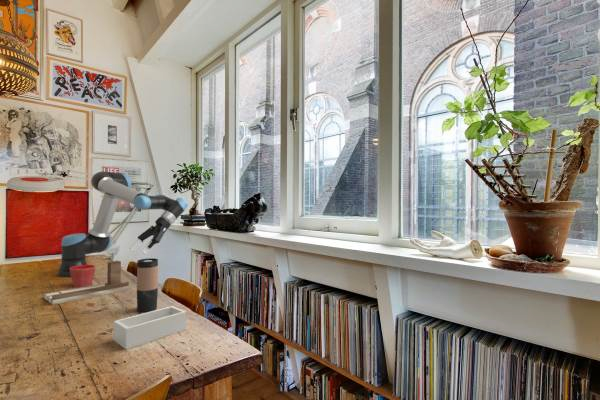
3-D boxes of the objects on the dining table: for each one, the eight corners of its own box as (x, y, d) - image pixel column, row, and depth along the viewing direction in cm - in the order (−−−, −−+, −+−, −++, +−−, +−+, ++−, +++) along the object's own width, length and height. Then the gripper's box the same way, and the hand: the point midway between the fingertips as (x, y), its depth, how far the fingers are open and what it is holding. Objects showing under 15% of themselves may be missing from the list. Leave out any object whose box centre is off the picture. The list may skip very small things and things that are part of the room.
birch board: (44, 298, 140) (44, 289, 140) (117, 285, 163) (117, 277, 163) (52, 305, 131) (52, 295, 131) (128, 290, 154) (128, 282, 154)
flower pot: (85, 288, 156) (86, 269, 156) (64, 288, 156) (64, 268, 157) (99, 283, 167) (100, 264, 167) (79, 282, 167) (79, 264, 167)
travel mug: (161, 306, 130) (161, 258, 130) (150, 313, 122) (151, 262, 123) (143, 306, 131) (144, 258, 131) (132, 312, 123) (132, 261, 123)
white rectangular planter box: (113, 340, 99) (113, 321, 99) (172, 322, 114) (172, 305, 114) (126, 349, 93) (126, 329, 93) (186, 329, 108) (186, 311, 108)
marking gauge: (104, 286, 153) (104, 261, 153) (117, 283, 158) (117, 259, 158) (109, 288, 149) (109, 263, 149) (123, 286, 154) (123, 261, 154)
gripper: (182, 226, 168) (153, 258, 156) (159, 224, 184) (132, 253, 172) (172, 216, 164) (143, 249, 152) (150, 215, 180) (121, 244, 168)
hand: (137, 251), depth 162 cm, fingers open, 13 cm apart
